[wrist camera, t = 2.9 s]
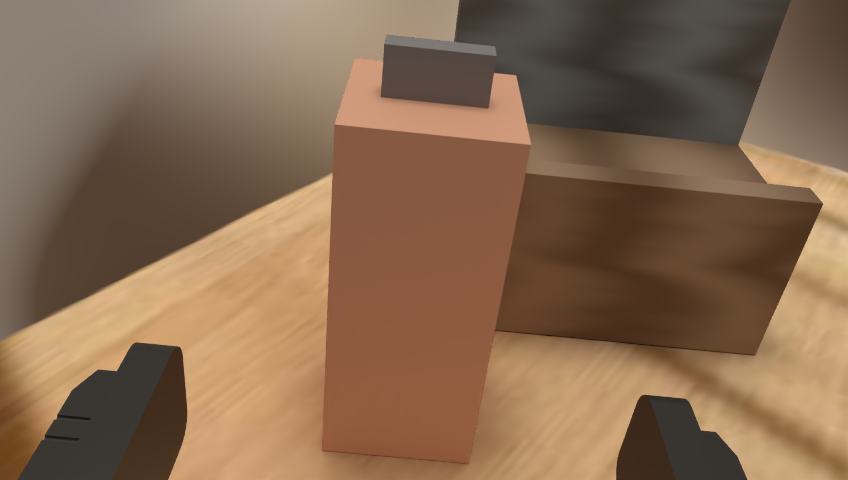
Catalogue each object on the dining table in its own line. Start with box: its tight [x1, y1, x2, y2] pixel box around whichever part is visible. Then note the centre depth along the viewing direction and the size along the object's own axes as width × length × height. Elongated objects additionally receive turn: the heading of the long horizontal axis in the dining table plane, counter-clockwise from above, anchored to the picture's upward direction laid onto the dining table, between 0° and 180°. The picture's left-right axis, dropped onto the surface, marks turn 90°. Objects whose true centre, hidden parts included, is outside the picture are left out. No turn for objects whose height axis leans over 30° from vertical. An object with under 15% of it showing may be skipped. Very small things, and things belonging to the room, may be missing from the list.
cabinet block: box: [322, 35, 531, 464], centre depth 24 cm, size 5×5×14 cm
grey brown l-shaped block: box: [454, 0, 823, 355], centre depth 31 cm, size 14×10×18 cm
